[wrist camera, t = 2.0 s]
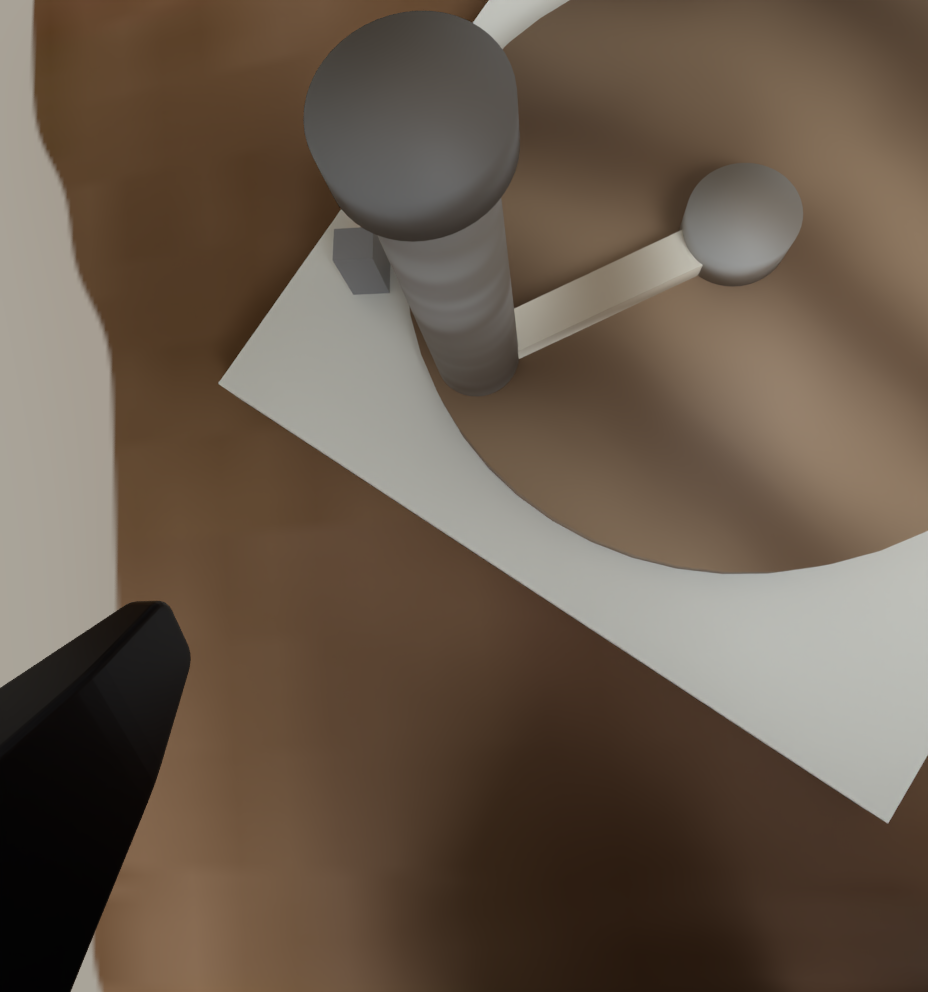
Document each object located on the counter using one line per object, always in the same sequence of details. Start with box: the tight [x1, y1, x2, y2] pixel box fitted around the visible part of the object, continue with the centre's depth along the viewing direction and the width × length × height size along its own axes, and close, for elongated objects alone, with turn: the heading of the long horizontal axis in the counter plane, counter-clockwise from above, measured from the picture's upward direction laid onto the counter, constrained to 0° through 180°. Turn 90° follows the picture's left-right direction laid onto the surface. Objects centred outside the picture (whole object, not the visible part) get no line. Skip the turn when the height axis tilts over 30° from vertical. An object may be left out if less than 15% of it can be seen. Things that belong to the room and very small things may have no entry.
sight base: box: [218, 0, 928, 823], centre depth 21 cm, size 23×23×4 cm
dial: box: [304, 0, 928, 574], centre depth 15 cm, size 19×19×11 cm
